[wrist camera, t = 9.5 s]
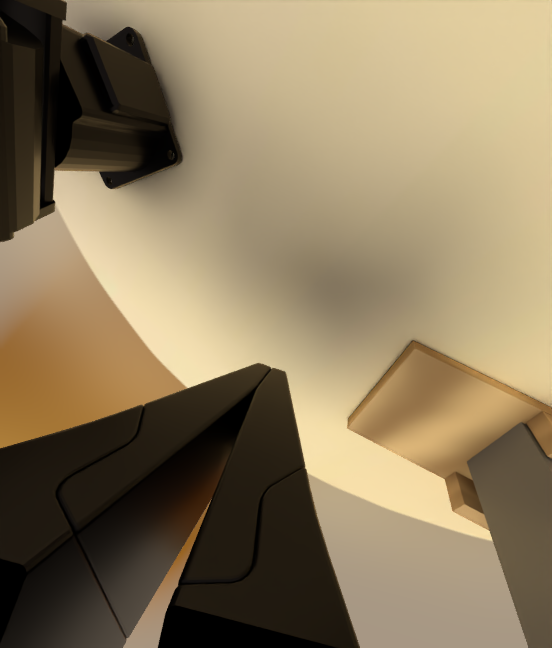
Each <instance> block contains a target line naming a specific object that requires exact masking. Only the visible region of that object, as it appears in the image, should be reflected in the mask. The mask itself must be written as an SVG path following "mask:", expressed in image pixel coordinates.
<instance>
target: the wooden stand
mask: <svg viewBox="0 0 552 648" xmlns="http://www.w3.org/2000/svg"><path fill="white" fill-rule="evenodd" d="M520 422H522V423H524V424H526V425H528V427H529V428H530V430H531V431H532V433H533V434H534V436H535V438H536V439H537V441H538V442H539V444H540V446H541V447H542V449H543V450H544V452H545V454H546V455H547V456H548V457H550V458H552V408H551V407H549V406H547V405H545V404H543V403H541V402H539V401H537V400H535V399H533V398H531V397H528V396H526V395H524V394H522V393H520V392H518V391H516V390H514V389H512V388H510V387H508V386H506V385H504V384H502V383H500V382H498V381H495V380H493V379H491V378H489V377H487V376H485V375H483V374H481V373H479V372H477V371H475V370H473V369H471V368H469V367H467V366H465V365H462V364H460V363H458V362H456V361H454V360H452V359H450V358H448V357H446V356H444V355H442V354H440V353H438V352H436V351H434V350H431V349H429V348H427V347H425V346H423V345H421V344H419V343H417V342H415V341H412V343H411V344H410V345H409V346H408V347H407V349H406V350H405V351H404V352H403V353H402V355H401V356H400V357H399V358H398V359H397V361H396V362H395V363H394V364H393V365H392V367H391V368H390V369H389V370H388V372H387V373H386V374H385V375H384V376H383V378H382V379H381V380H380V381H379V382H378V384H377V385H376V386H375V387H374V388H373V390H372V391H371V392H370V393H369V394H368V396H367V397H366V398H365V399H364V401H363V402H362V403H361V404H360V405H359V407H358V408H357V409H356V410H355V411H354V413H353V414H352V415H351V416H350V417H349V419H348V425H347V428H348V429H349V430H351V431H353V432H355V433H357V434H359V435H361V436H363V437H365V438H367V439H369V440H371V441H372V442H374V443H376V444H378V445H380V446H382V447H384V448H386V449H388V450H390V451H392V452H394V453H396V454H397V455H399V456H401V457H403V458H405V459H407V460H409V461H411V462H413V463H415V464H417V465H419V466H420V467H422V468H424V469H426V470H428V471H430V472H432V473H434V474H436V475H438V476H440V477H442V478H444V479H445V482H446V486H447V490H448V494H449V498H450V502H451V507H452V511H453V512H455V513H457V514H459V515H461V516H463V517H464V518H466V519H468V520H470V521H472V522H474V523H476V524H478V525H480V526H481V527H483V528H485V529H487V530H489V527H488V524H487V521H486V518H485V515H484V512H483V509H482V506H481V503H480V500H479V497H478V494H477V491H476V488H475V485H474V482H473V479H472V476H471V473H470V470H469V467H468V464H467V461H468V460H470V459H471V458H472V457H474V456H475V455H476V454H478V453H479V452H480V451H482V450H483V449H485V448H486V447H487V446H489V445H490V444H491V443H493V442H494V441H495V440H497V439H498V438H500V437H501V436H502V435H504V434H505V433H506V432H508V431H509V430H511V429H512V428H513V427H515V426H516V425H517V424H519V423H520ZM489 531H490V530H489Z"/></svg>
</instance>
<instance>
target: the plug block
mask: <svg viewBox="0 0 552 648" xmlns="http://www.w3.org/2000/svg"><path fill="white" fill-rule="evenodd" d="M467 464H468V467H469V470H470V473H471V476H472V479H473V482H474V485H475V488H476V491H477V494H478V497H479V500H480V503H481V506H482V509H483V512H484V515H485V518H486V521H487V524H488V527H489V530H490V533H491V536H492V539H493V542H494V545H495V548H496V551H497V554H498V557H499V560H500V563H501V566H502V569H503V572H504V575H505V578H506V581H507V584H508V588H509V591H510V593H511V596H512V599H513V602H514V605H515V608H516V611H517V615H518V618H519V620H520V624H521V627H522V630H523V633H524V635H525V638H526V641H527V644H528V648H552V458H550V457H548V456H547V455H546V454H545V452H544V450H543V449H542V447H541V446H540V444H539V442H538V441H537V439H536V438H535V436H534V434H533V433H532V431H531V430H530V428H529V427H528V425H526V424H524V423H522V422H520V423H519V424H517V425H516V426H515V427H513V428H512V429H511V430H509V431H508V432H506V433H505V434H504V435H502V436H501V437H500V438H498V439H497V440H495V441H494V442H493V443H491V444H490V445H489V446H487V447H486V448H485V449H483V450H482V451H480V452H479V453H478V454H476V455H475V456H474V457H472V458H471V459H470V460H468V461H467Z"/></svg>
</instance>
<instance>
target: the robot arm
mask: <svg viewBox="0 0 552 648" xmlns="http://www.w3.org/2000/svg"><path fill="white" fill-rule="evenodd" d="M66 8H67V3H66V2H65V1H64V0H0V242H4V241H8V240H11V239H12V238H14V232H16V231H18V230H21V229H23V228H24V227H27V226H29V225H31V224H33V223H34V221H36V220H38V219H40V218H42V217H44V216H47V215H48V214H51V213H53V212H54V211H55V201H54V200H53V188H54V170H57V171H99V172H100V175H101V177H102V179H103V181H104V183H105V185H106V186H107V187H108V188H110V189H117V188H120V187H122V186H125V185H127V184H130V183H132V182H135V181H137V180H140V179H142V178H145V177H147V176H150V175H152V174H155V173H157V172H160V171H162V170H165V169H167V168H170V167H172V166H175V165H178V164H179V163H180V162H181V158H182V155H181V151H180V148H179V146H178V143H177V140H176V137H175V134H174V131H173V128H172V125H171V122H170V115H169V112H168V109H167V106H166V103H165V100H164V97H163V94H162V91H161V88H160V85H159V82H158V79H157V76H156V73H155V70H154V68H153V66H151V63H150V60H149V57H148V54H147V51H146V48H145V45H144V42H143V40H142V37H141V35H140V34H139V33H138V32H137V31H136V30H134V29H133V28H131V27H126V28H124V29H123V30H122V31H120V32H119V33H117V34H116V35H115V36H113V37H112V38H110V39H109V40H107V41H104V40H102V39H100V38H98V37H96V36H94V35H92V34H90V33H85V34H81V33H79V32H77V31H75V30H73V29H71V28H69V27H67V26H65V25H63V24H62V20H64V21H66ZM133 37H134V44H133V46H132V42H131V41H132V38H133ZM172 151H173V153H174V159H172V157H171V153H172ZM111 179H112V182H111ZM211 499H212V500H211ZM210 500H211V502H210ZM209 502H210V505H209V507H208V510H207V512H206V515H205V517H204V520H203V522H202V525H201V527H200V529H199V532H198V534H197V537H196V540H195V542H194V544H193V547H192V549H191V552H190V555H189V557H188V559H187V562H186V564H185V567H184V569H183V572H182V574H181V577H180V579H179V583H178V587H177V588H176V589H175V591H174V593H173V596H172V599H171V601H170V604H169V606H168V608H167V611H166V614H165V618H164V623H163V627H162V632H161V636H160V640H159V645H158V648H360V646H359V644H358V640H357V637H356V634H355V631H354V628H353V625H352V622H351V619H350V617H349V613H348V610H347V607H346V604H345V601H344V598H343V595H342V592H341V589H340V587H339V583H338V580H337V577H336V574H335V571H334V568H333V565H332V562H331V559H330V556H329V553H328V550H327V547H326V543H325V540H324V537H323V533H322V530H321V527H320V524H319V520H318V517H317V513H316V509H315V505H314V501H313V497H312V493H311V489H310V484H309V479H308V475H307V470H306V469H305V462H304V457H303V453H302V448H301V443H300V438H299V433H298V428H297V423H296V419H295V414H294V409H293V404H292V399H291V394H290V390H289V385H288V380H287V375H286V372H285V371H282V370H279V369H276V368H272V369H271V367H269V366H267V365H264V364H261V363H256V364H254V365H251V366H248V367H245V368H242V369H240V370H237V371H234V372H231V373H229V374H226V375H223V376H220V377H218V378H215V379H212V380H209V381H207V382H204V383H201V384H198V385H196V386H193V387H190V388H187V389H185V390H182V391H179V392H176V393H173V394H171V395H168V396H165V397H163V398H160V399H157V400H154V401H152V402H149V403H146V404H145V405H144V406H143V405H139V406H136V407H133V408H130V409H128V410H125V411H122V412H119V413H116V414H113V415H110V416H107V417H104V418H101V419H98V420H95V421H92V422H89V423H86V424H82V425H79V426H76V427H73V428H69V429H66V430H63V431H60V432H56V433H53V434H49V435H46V436H42V437H39V438H35V439H32V440H28V441H25V442H21V443H18V444H14V445H11V446H7V447H4V448H0V648H123V646H124V645H125V643H126V638H128V637H129V636H130V635H131V633H132V631H133V630H134V628H135V626H136V624H137V623H138V621H139V619H140V618H141V616H142V614H143V613H144V611H145V609H146V607H147V606H148V604H149V602H150V601H151V599H152V598H153V596H154V594H155V592H156V591H157V589H158V587H159V586H160V584H161V583H162V581H163V579H164V577H165V576H166V574H167V572H168V571H169V569H170V567H171V566H172V564H173V562H174V561H175V559H176V557H177V556H178V554H179V552H180V551H181V549H182V547H183V546H184V544H185V542H186V541H187V539H188V537H189V536H190V534H191V532H192V530H193V529H194V527H195V525H196V524H197V522H198V520H199V519H200V517H201V515H202V514H203V512H204V510H205V509H206V507H207V505H208V504H209Z"/></svg>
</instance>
